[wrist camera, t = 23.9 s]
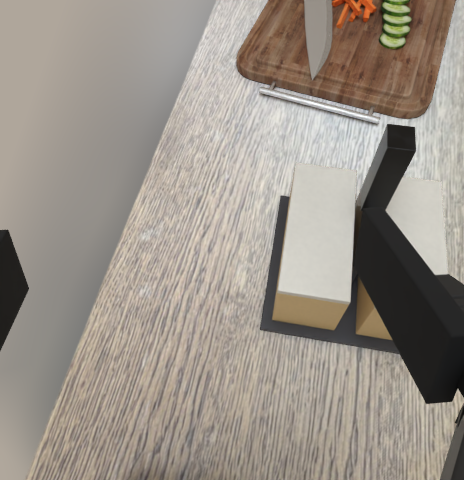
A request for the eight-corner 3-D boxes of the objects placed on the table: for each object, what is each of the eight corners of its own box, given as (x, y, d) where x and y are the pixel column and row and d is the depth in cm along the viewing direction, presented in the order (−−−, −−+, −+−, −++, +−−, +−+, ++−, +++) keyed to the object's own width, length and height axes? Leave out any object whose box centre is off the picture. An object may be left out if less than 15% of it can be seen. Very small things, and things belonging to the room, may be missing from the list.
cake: (429, 359, 41) (466, 332, 34) (260, 329, 42) (263, 299, 36) (423, 217, 49) (452, 174, 42) (280, 198, 50) (286, 153, 44)
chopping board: (420, 138, 55) (429, 120, 52) (222, 86, 60) (221, 67, 57) (465, -46, 75) (473, -65, 73) (315, -72, 81) (317, -92, 78)
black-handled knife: (357, 287, 44) (417, 182, 29) (338, 283, 44) (387, 178, 30) (360, 221, 48) (414, 100, 33) (342, 218, 48) (387, 97, 34)
